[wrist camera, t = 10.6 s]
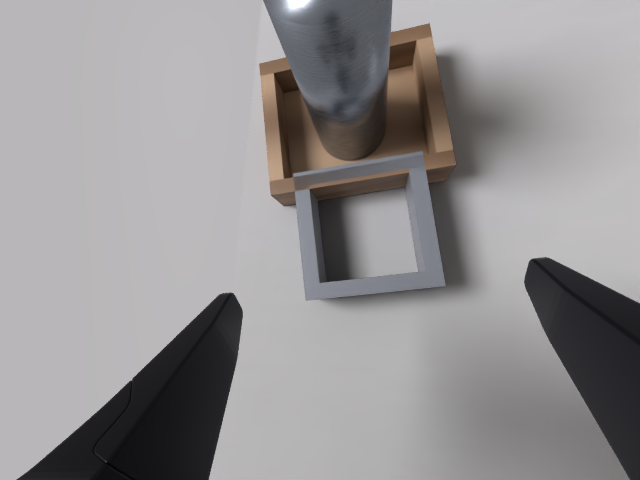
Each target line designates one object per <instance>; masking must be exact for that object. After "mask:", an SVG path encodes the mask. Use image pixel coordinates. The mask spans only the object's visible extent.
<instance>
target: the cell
mask: <svg viewBox="0 0 640 480" xmlns="http://www.w3.org/2000/svg"><path fill="white" fill-rule="evenodd" d="M263 1H264V3H265V6H266V8H267V11H268V13H269V16H270V18H271V20H272V23H273V25H274V28H275V30H276V33H277V35H278V38H279V40H280V43H281V45H282V48H283V50H284V53H285V55H286V58H287V60H288V62H289V65H290V67H291V70H292V72H293V75H294V77H295V80H296V82H297V85H298V87H299V90H300V92H301V95H302V97H303V100H304V102H305V104H306V107H307V109H308V112H309V114H310V117H311V119H312V122H313V124H314V127H315V129H316V132H317V134H318V137H319V139H320V142H321V144H322V146H323V148H324V149H325V150H326V151H327V152H328V153H329V154H330V155H331V156H333V157H335V158H337V159H340V160H344V161H355V160H359V159H362V158H365V157H367V156H369V155H370V154H372V153H373V152H374V151H375V150H376V149H377V148H378V147H379V146H380V144H381V142H382V140H383V138H384V135H385V130H386V113H387V93H388V73H389V54H390V34H391V15H392V0H263Z"/></svg>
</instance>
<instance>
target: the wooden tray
mask: <svg viewBox="0 0 640 480" xmlns="http://www.w3.org/2000/svg"><path fill="white" fill-rule="evenodd" d="M259 65H260V76H261V88H262V99H263V111H264V122H265V134H266V145H267V157H268V168H269V180H270V191H271V196H272V197H274V198H275V199H276V200H277V201H278V202H280V203H281V204H282V205H283V206H287V205H293V204H296V199H295V191H300V190H303V189H304V190H306V189H310V191H311V192H312V193H313V195H314V196H315V198H316V199H317V201H319V200H325V199H331V198H338V197H344V196H350V195H357V194H363V193H369V192H376V191H382V190H389V189H395V188H401V187H405V185H406V182H407V179H408V175H409V169H410V168H409V169H408V168H407V169H406V167H405V169H404V170H398V171H390V172H388V170H387V172H386V173H384V170H383V173H380V174H378V173H376V174H374V173H372V174H374V175H370V173H368V176H362V177H361V175H360V177H359V176H358V177H354V178H349V177H348V178H349V179H345V178H346V177H347V176H348V175H350V174H345V175H347V176H345V178H344V177H342V174H341V175H340V176H341V178H344V179H340V180H339V179H338V181H333V180H335V179H334V178H335V177H337V176H339V174H337V175H334V174H335V173H336V172H333V171H332V174H333V177H334V176H335V177H334V178H332V176H330V175H331V172H330V173H329V174H330V175H328V173H327V174H326V175H327V176H330V177H331V178H332V181H331V182H330V181H329V180H326V181H329V182H323V181H324V180H325V178H324V177H321V174H322V173H323V172H322V173H321V174H320V175H319V173H318V177H321V178H324V179H322V181H321V182H320V181H319V180H321V178H320V179H318V177H317V179H318V182H317V181H316V184H314V182H315V181H314V180H315V179H314V178H316V176H317V173H316V176H312V177H314V178H313V180H311V181H314V182H311V181H310V180H306V181H309V182H310V185H307V184H309V183H306V181H305V180H299V179H305V178H306V179H307V177H309V179H312V177H311V175H312V174H310V176H309V175H307V176H306V175H304V176H306V177H305V178H304V177H303V176H298V178H296V177H295V178H293V173H299V172H305V171H310V170H316V169H322V168H328V167H334V166H339V165H345V164H351V163H357V162H362V161H368V160H374V159H380V158H385V157H391V156H397V155H403V154H408V153H414V152H420V151H423V157H424V158H423V159H424V162H425V168H426V174H427V180H428V183H433V182H440V181H445V180H446V179H447V177H448V176H449V175H450V173H451V172H452V170H453V169H454V167H455V166H456V161H455V156H454V150H453V145H452V140H451V134H450V129H449V124H448V118H447V113H446V108H445V102H444V97H443V92H442V86H441V81H440V76H439V71H438V65H437V60H436V55H435V49H434V44H433V39H432V33H431V28H430V23H429V24H425V25H421V26H417V27H412V28H408V29H404V30H400V31H396V32H391V34H390V54H389V73H388V93H387V113H386V130H385V135H384V138H383V140H382V142H381V144H380V146H379V147H378V148H377V149H376V150H375V151H374V152H373V153H372V154H370V155H369V156H367V157H365V158H362V159H359V160H355V161H344V160H340V159H337V158H335V157H333V156H331V155H330V154H329V153H328V152H327V151H326V150H325V149H324V148H323V146H322V144H321V142H320V139H319V137H318V134H317V132H316V129H315V127H314V124H313V122H312V119H311V117H310V114H309V112H308V109H307V107H306V104H305V102H304V100H303V97H302V95H301V92H300V90H299V87H298V85H297V82H296V80H295V77H294V75H293V72H292V70H291V67H290V65H289V62H288V60H287V58H282V59H278V60H273V61H269V62H265V63H261V64H259ZM414 157H415V156H414ZM419 157H420V156H419ZM408 158H409V157H408ZM408 158H407V159H408ZM403 159H404V158H403ZM409 159H410V158H409ZM415 159H416V157H415ZM417 159H418V158H417ZM421 159H422V158H421ZM397 160H398V159H397ZM390 161H391V160H390ZM390 161H389V162H390ZM405 161H406V160H405ZM411 161H412V160H411ZM411 161H409V162H411ZM415 161H416V160H415ZM418 161H419V160H418ZM422 161H423V160H422ZM399 162H400V161H399ZM401 162H402V160H401ZM407 162H408V161H407ZM379 164H380V163H379ZM381 164H382V163H381ZM393 164H394V163H393ZM405 164H406V163H405ZM409 164H410V163H409ZM412 164H413V163H412ZM414 164H415V162H414ZM417 164H418V163H417ZM369 165H370V164H369ZM369 165H368V164H367V166H369ZM371 165H372V164H371ZM373 165H374V164H373ZM377 165H378V163H377ZM385 165H386V164H385ZM389 165H391V164H390V163H389V164H388V167H385V166H384V167H385V169H386V168H390V167H389ZM396 165H397V164H396ZM361 166H362V165H361ZM363 166H364V165H363ZM417 166H418V165H417ZM421 166H422V165H421ZM364 167H365V166H364ZM377 167H378V166H377ZM377 167H375V168H376V169H377ZM381 167H383V166H381ZM384 167H383V168H384ZM393 167H395V166H392V168H393ZM397 167H399V166H397ZM400 167H401V166H400ZM409 167H410V166H409ZM351 168H353V169H354V168H359V167H358V166H356V167H351ZM366 168H367V167H366ZM375 168H374V167H373V168H372V170H374V169H375ZM383 168H382V169H383ZM403 168H404V167H403ZM411 168H412V167H411ZM415 168H416V167H415ZM345 169H348V168H345ZM349 169H350V167H349ZM353 169H352V170H353ZM363 169H364V170H365V168H362V171H363ZM378 169H379V167H378ZM378 169H377V170H378ZM380 169H381V168H380ZM380 169H379V170H380ZM394 169H396V168H394ZM342 170H343V169H342ZM355 170H356V169H355ZM366 170H367V169H366ZM368 170H369V168H368ZM370 170H371V168H370ZM391 170H392V169H391ZM421 170H422V169H421ZM334 171H335V170H334ZM336 171H340V173H345V172H343V171H345V170H343V171H342V172H341V170H340V169H339V170H336ZM346 171H348V172H347V173H350V172H349V170H346ZM350 171H351V170H350ZM360 171H361V170H360ZM360 171H359V172H360ZM381 171H382V170H381ZM381 171H378V172H381ZM385 171H386V170H385ZM328 172H329V171H328ZM359 172H357V173H359ZM363 172H364V171H363ZM371 172H372V171H371ZM373 172H375V171H373ZM337 173H338V172H337ZM351 173H352V172H351ZM353 173H354V172H353ZM355 173H356V172H355ZM324 174H325V173H324ZM361 174H362V173H361ZM364 174H365V173H364ZM364 174H363V175H364ZM314 175H315V174H314ZM322 175H323V174H322ZM353 175H354V174H353ZM355 175H356V174H355ZM357 175H359V174H357ZM343 176H344V175H343ZM299 177H301V178H299ZM310 177H311V178H310ZM325 177H326V176H325ZM351 177H352V174H351ZM327 178H328V177H326V179H327ZM331 178H330V179H331ZM339 178H340V177H339ZM294 179H295V180H296V179H298V180H299V181H298V180H296V181H297V182H298V183H294ZM296 181H295V182H296ZM300 181H301V182H300ZM304 181H305V182H304ZM302 182H304V184H303V183H302ZM322 182H323V183H322ZM312 183H313V184H312ZM317 183H319V184H317ZM295 184H296V185H295ZM297 184H299V185H298V187H296V186H297ZM300 184H302V186H301V185H300ZM305 184H306V185H307V186H306V185H305ZM303 186H304V187H303ZM295 187H296V189H294V188H295ZM297 188H298V189H297ZM301 188H302V189H301Z"/></svg>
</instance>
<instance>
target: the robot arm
mask: <svg viewBox="0 0 640 480" xmlns="http://www.w3.org/2000/svg"><path fill="white" fill-rule="evenodd" d="M524 283H525V288H526V290H527V292H528V295H529V297H530V299H531V301H532V304H533V306H534V308H535V311H536V313H537V315H538V318H539V320H540V322H541V324H542V327H543V329H544V331H545V333H546V335H547V337H548V339H549V341H550V343H551V344H552V346H553V348H554V349H555V351H556V353H557V355H558V356H559V358H560V360H561V362H562V363H563V365H564V367H565V368H566V370H567V372H568V374H569V375H570V377H571V379H572V380H573V382H574V384H575V386H576V387H577V389H578V391H579V392H580V394H581V396H582V398H583V399H584V401H585V403H586V404H587V406H588V408H589V410H590V411H591V413H592V415H593V416H594V418H595V420H596V422H597V423H598V425H599V427H600V429H601V430H602V432H603V434H604V435H605V437H606V439H607V441H608V442H609V444H610V446H611V447H612V449H613V451H614V453H615V454H616V456H617V458H618V459H619V461H620V463H621V465H622V466H623V468H624V470H625V471H626V473H627V475H628V477H629V478H630V480H640V303H638V302H636V301H634V300H632V299H630V298H628V297H626V296H624V295H622V294H620V293H618V292H616V291H614V290H612V289H610V288H608V287H606V286H604V285H602V284H600V283H598V282H596V281H594V280H592V279H590V278H588V277H586V276H584V275H582V274H580V273H578V272H576V271H574V270H572V269H570V268H568V267H566V266H564V265H562V264H560V263H558V262H556V261H554V260H552V259H550V258H547V257H543V258H534V259H531V260H530V261H529V264H528V268H527V271H526V275H525V280H524ZM242 318H243V311H242V308H241V306H240V304H239V302H238V300H237V298H236V296H235V295H234V294H233V293H223V294H220V295H219V296H218V297H216V299H214V300H213V301H212V302H211V303H210V304H209V305H208V306H207V307H206V308H205V309H204V310H203V311H202V312H201V313H200V314H199V315H198V316H197V317H196V318H195V319H194V320H193V321H192V322H191V323H190V324H189V325H188V326H187V327H185V329H183V330H182V331H181V332H180V333H179V334H178V335H177V336H176V337H175V338H174V339H173V340H172V341H171V342H170V343H169V344H168V345H167V346H166V347H165V348H164V349H163V350H162V351H161V352H160V353H159V354H158V355H157V356H155V357H154V358H153V359H152V360H151V361H150V362H149V363H148V364H147V365H146V366H145V367H144V368H143V369H142V370H141V371H140V372H139V373H138V374H137V375H136V376H135V377H134V378H133V379H132V381H129V383H127V384H126V385H125V386H124V387H123V388H122V389H121V390H120V391H119V392H118V393H117V394H116V395H115V396H114V397H113V398H112V399H111V400H110V401H108V403H106V404H105V405H104V406H103V407H102V408H101V409H100V410H99V411H98V412H97V413H95V414H94V415H93V416H92V417H91V418H90V419H89V420H87V421H86V422H85V423H84V424H83V425H82V426H81V427H80V428H78V429H77V430H76V431H75V432H74V433H72V434H71V435H70V436H69V437H68V438H67V439H66V440H64V441H63V442H62V443H61V444H60V445H58V446H57V447H56V448H55V449H54V450H53V451H52V452H50V453H49V454H48V455H47V456H46V457H45V458H43V459H42V460H41V461H40V462H39V463H38V464H36V465H35V466H34V467H33V468H32V469H30V470H29V471H28V472H27V473H25V474H24V475H22V476H21V477H20V478H18V479H17V480H209V476H210V471H211V467H212V463H213V459H214V455H215V450H216V446H217V442H218V438H219V434H220V429H221V425H222V421H223V417H224V413H225V408H226V404H227V400H228V396H229V392H230V387H231V383H232V379H233V375H234V371H235V366H236V362H237V356H238V350H239V342H240V334H241V326H242Z"/></svg>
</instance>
